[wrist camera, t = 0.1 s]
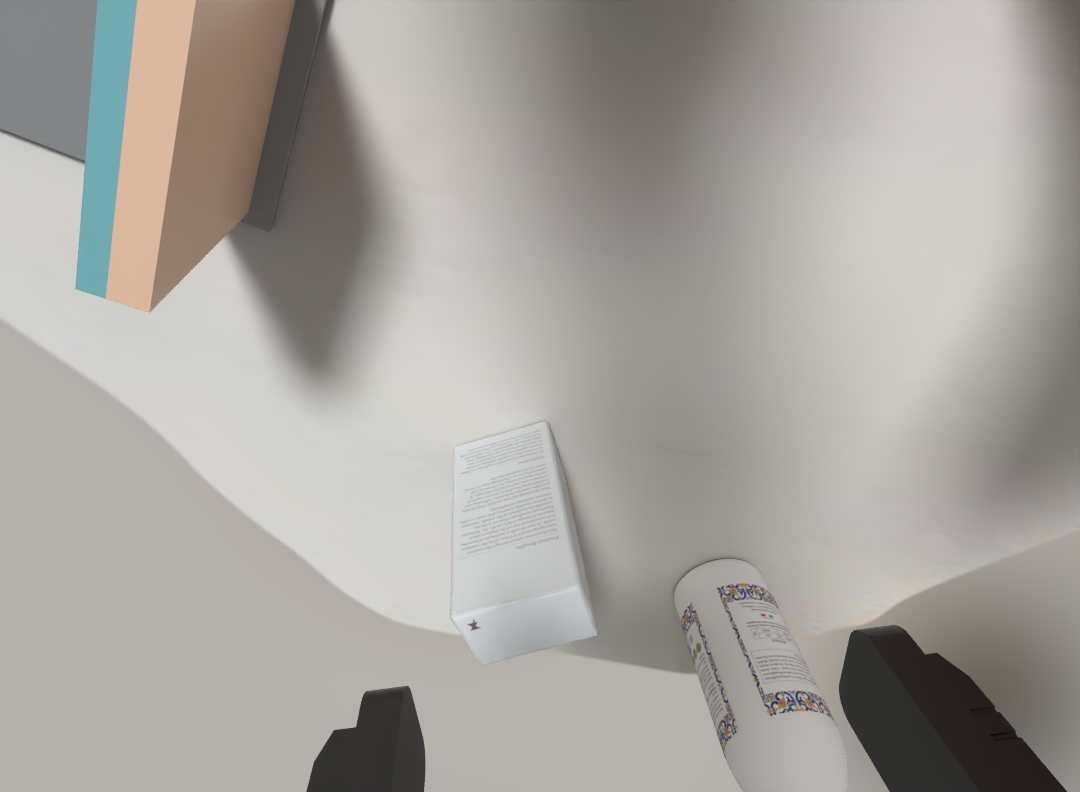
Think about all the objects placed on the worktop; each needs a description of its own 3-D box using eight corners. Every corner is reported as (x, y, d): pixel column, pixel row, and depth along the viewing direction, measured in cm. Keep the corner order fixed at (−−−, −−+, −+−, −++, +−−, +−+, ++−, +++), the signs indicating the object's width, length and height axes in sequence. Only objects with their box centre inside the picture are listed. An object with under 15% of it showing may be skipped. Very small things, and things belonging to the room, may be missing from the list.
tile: (245, -66, 21) (105, -100, 13) (303, -36, 22) (203, -49, 14) (200, 194, 26) (75, 289, 18) (248, 212, 27) (149, 312, 18)
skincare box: (475, 493, 38) (477, 669, 28) (452, 444, 36) (445, 618, 26) (567, 468, 38) (601, 638, 28) (549, 417, 35) (580, 583, 25)
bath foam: (700, 624, 49) (817, 950, 32) (654, 586, 45) (759, 928, 29) (775, 584, 47) (942, 910, 30) (733, 541, 43) (894, 881, 27)
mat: (-175, -311, 18) (-188, -317, 17) (336, -36, 22) (334, -36, 22) (-137, 71, 23) (-145, 73, 22) (271, 228, 28) (269, 231, 27)
